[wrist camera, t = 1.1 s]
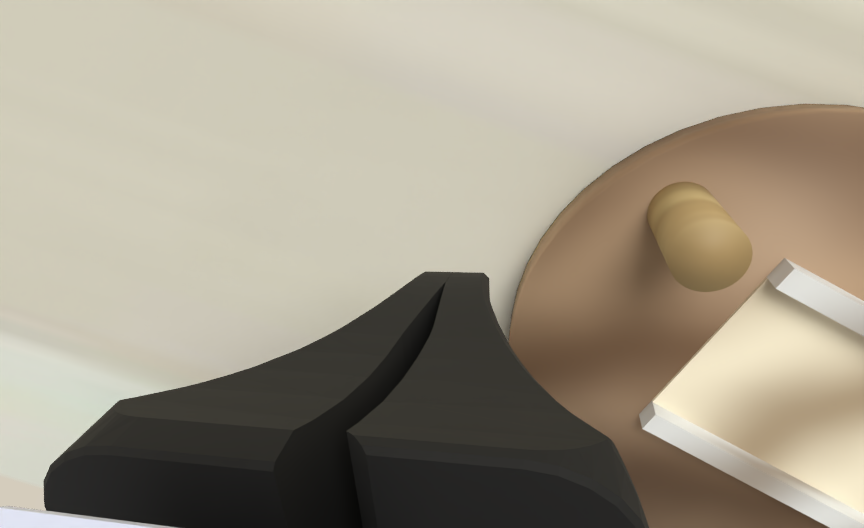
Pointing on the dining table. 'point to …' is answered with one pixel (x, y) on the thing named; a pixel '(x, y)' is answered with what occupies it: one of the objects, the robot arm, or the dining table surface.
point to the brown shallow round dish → (716, 318)
